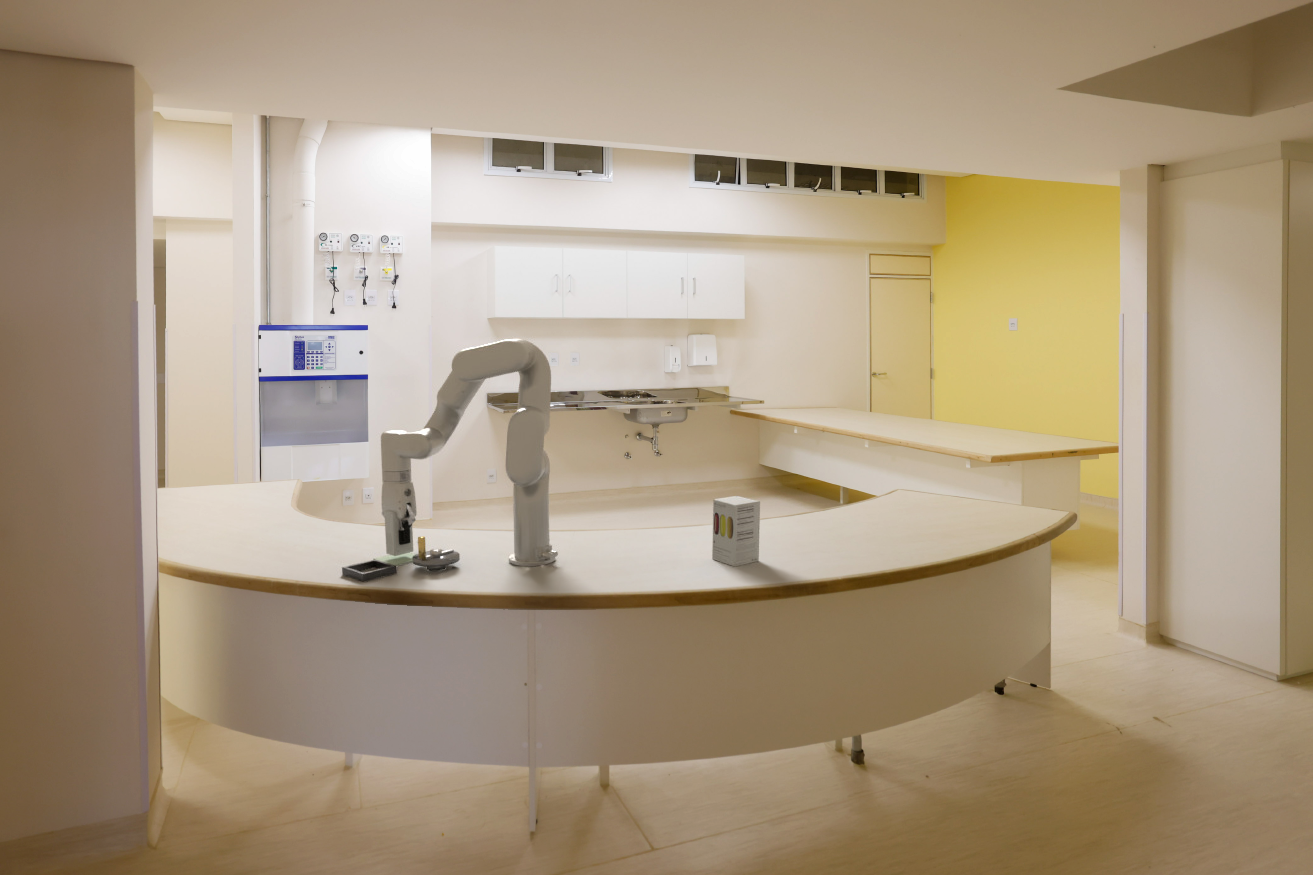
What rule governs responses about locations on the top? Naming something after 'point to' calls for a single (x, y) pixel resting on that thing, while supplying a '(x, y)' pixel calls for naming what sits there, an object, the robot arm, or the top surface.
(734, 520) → the supplement box
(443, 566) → the wheel post
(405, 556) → the mat
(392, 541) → the skincare box
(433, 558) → the handwheel
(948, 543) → the top surface
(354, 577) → the dark grey square tray
